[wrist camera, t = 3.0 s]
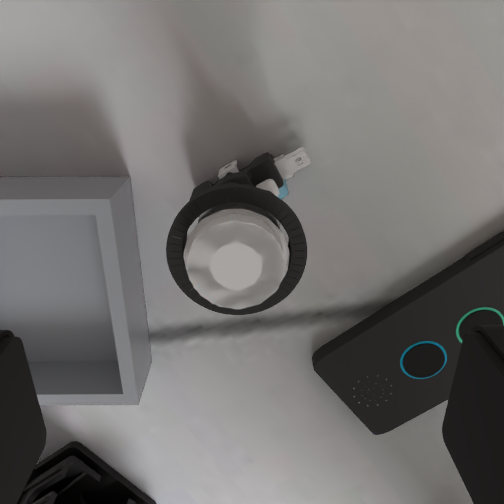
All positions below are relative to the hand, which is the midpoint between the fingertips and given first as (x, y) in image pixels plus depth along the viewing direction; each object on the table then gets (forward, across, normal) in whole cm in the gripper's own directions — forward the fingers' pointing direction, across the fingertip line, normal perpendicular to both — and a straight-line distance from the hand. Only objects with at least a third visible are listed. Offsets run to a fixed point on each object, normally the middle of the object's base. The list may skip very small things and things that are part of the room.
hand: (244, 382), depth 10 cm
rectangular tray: (+17, +12, +7) cm, 22 cm away
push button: (+17, 0, +1) cm, 17 cm away
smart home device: (+17, -14, +10) cm, 24 cm away
